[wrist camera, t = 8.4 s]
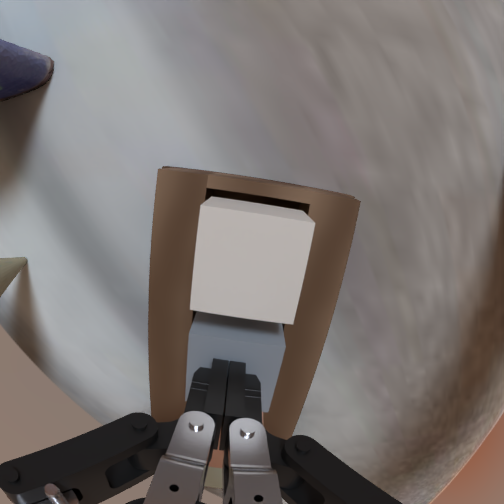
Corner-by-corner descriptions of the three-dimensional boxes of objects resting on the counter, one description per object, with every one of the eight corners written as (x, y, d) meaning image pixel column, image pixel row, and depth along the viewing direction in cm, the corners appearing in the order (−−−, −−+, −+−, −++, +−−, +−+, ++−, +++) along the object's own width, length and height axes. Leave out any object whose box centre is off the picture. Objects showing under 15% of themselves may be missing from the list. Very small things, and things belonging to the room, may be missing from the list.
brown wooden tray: (349, 194, 18) (373, 204, 14) (278, 449, 24) (280, 482, 20) (167, 166, 17) (144, 167, 14) (158, 432, 24) (148, 464, 20)
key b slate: (280, 314, 16) (285, 346, 13) (266, 376, 17) (268, 412, 14) (199, 303, 16) (188, 333, 13) (194, 366, 17) (185, 401, 14)
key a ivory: (302, 210, 14) (315, 223, 11) (285, 294, 15) (293, 324, 12) (211, 196, 14) (200, 205, 11) (201, 282, 15) (189, 309, 12)
